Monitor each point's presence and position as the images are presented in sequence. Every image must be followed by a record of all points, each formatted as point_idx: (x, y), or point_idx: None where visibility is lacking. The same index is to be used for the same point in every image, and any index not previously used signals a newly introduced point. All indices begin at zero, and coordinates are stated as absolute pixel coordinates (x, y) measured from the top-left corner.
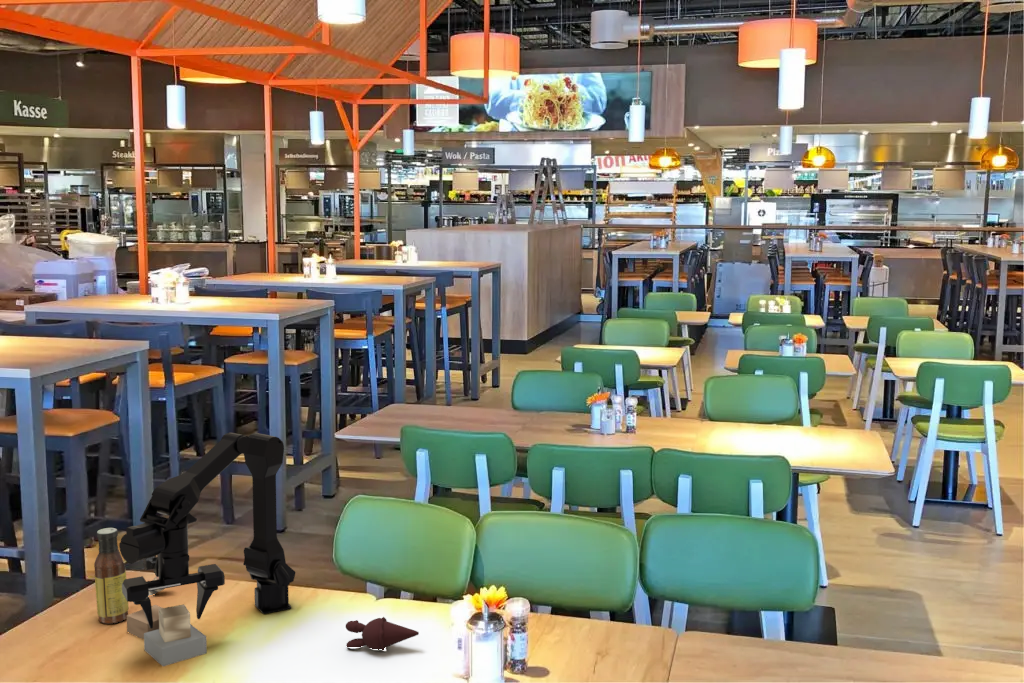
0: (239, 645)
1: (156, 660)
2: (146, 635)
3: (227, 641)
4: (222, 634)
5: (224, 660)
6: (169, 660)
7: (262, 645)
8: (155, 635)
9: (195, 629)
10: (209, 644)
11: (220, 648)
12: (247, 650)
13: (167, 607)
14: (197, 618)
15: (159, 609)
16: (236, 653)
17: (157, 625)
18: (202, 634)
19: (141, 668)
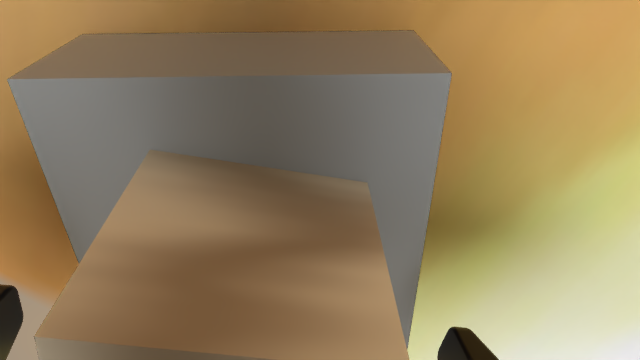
0: (552, 282)
1: None
2: (30, 136)
3: (548, 218)
4: (601, 124)
5: (408, 354)
6: None
7: (614, 328)
8: (108, 178)
9: (411, 249)
10: (458, 197)
11: (468, 263)
12: (536, 333)
13: (174, 348)
14: (443, 341)
15: (45, 354)
16: (485, 332)
17: None
18: (403, 327)
19: (40, 244)
